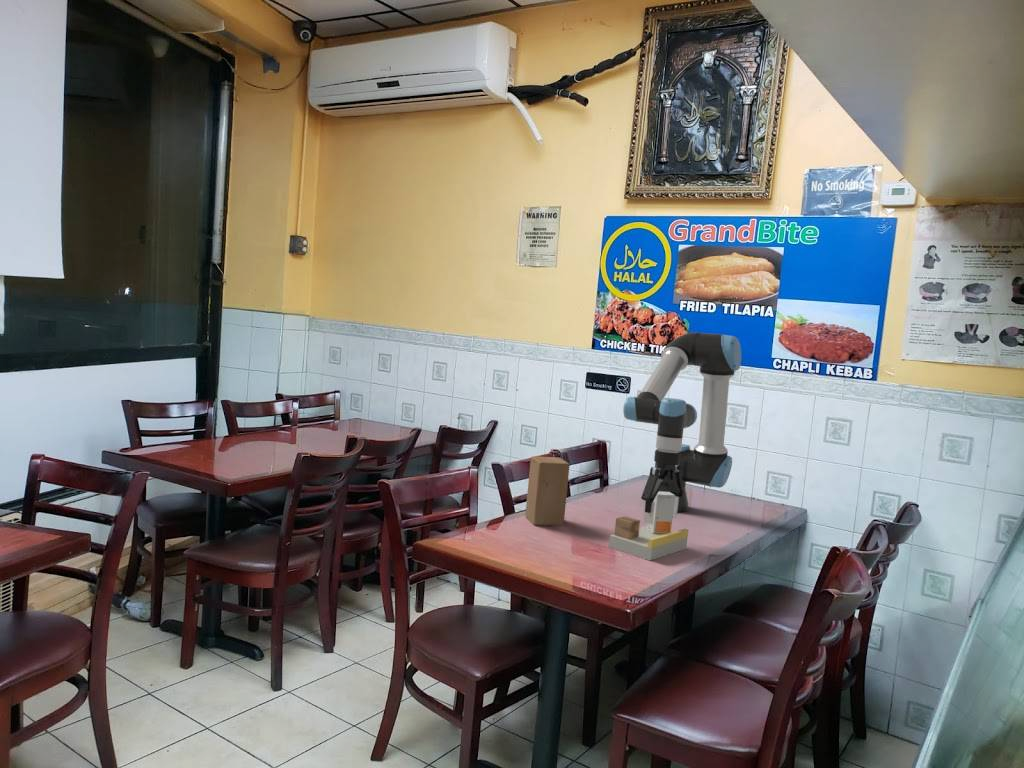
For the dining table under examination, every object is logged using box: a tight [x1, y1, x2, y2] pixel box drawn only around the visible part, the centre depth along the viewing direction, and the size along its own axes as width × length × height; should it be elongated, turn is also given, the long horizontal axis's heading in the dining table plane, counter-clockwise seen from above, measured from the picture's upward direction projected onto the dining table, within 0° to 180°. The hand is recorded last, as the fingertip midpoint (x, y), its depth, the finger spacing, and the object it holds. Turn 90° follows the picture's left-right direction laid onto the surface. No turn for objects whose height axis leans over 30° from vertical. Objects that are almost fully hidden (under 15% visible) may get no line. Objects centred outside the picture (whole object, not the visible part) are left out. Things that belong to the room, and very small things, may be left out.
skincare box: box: [647, 491, 675, 534], centre depth 227 cm, size 6×4×12 cm
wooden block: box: [524, 455, 570, 527], centre depth 240 cm, size 10×10×20 cm
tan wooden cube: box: [614, 515, 641, 539], centre depth 220 cm, size 5×5×5 cm
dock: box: [608, 525, 689, 561], centre depth 222 cm, size 20×14×6 cm
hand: (660, 520), depth 227 cm, fingers open, 13 cm apart
